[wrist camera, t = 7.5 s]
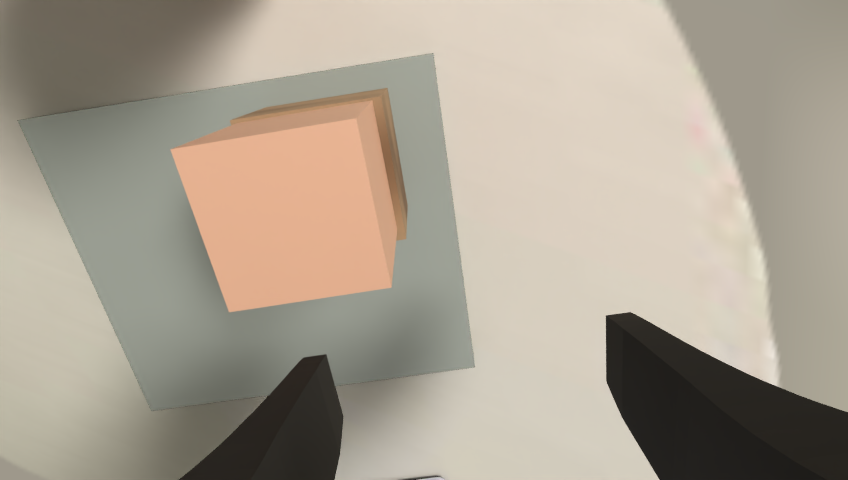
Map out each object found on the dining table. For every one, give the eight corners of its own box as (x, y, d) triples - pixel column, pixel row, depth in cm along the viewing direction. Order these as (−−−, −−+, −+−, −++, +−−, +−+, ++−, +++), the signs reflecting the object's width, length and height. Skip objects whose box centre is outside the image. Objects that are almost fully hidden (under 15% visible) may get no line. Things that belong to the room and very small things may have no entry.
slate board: (473, 360, 24) (474, 367, 24) (157, 403, 25) (151, 410, 25) (432, 53, 19) (433, 53, 18) (28, 118, 20) (17, 120, 19)
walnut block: (407, 205, 21) (406, 239, 17) (296, 222, 21) (270, 259, 17) (387, 87, 19) (381, 96, 15) (265, 106, 19) (229, 120, 15)
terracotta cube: (397, 229, 17) (391, 287, 13) (274, 248, 17) (229, 312, 13) (372, 100, 15) (356, 117, 11) (236, 123, 15) (170, 149, 11)
